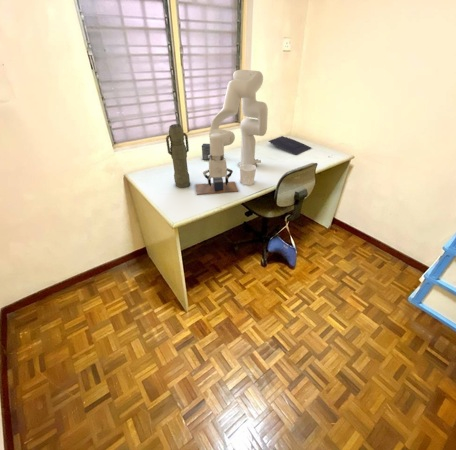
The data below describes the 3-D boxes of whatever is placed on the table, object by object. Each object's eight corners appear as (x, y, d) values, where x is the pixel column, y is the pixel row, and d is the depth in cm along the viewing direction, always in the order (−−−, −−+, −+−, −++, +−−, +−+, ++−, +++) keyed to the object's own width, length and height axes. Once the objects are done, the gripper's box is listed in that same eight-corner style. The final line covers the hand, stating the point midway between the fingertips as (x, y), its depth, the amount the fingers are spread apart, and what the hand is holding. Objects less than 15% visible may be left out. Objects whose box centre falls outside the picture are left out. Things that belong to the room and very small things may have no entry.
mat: (234, 182, 157) (234, 181, 157) (238, 191, 147) (238, 190, 147) (196, 185, 153) (195, 184, 153) (197, 194, 144) (197, 193, 143)
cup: (254, 186, 153) (255, 171, 147) (238, 185, 154) (238, 170, 148) (256, 179, 161) (257, 164, 155) (240, 178, 162) (241, 163, 156)
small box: (217, 157, 191) (217, 143, 185) (216, 160, 185) (215, 146, 179) (204, 156, 191) (203, 143, 185) (202, 159, 186) (201, 145, 180)
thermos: (170, 184, 153) (161, 125, 133) (187, 179, 159) (181, 121, 139) (177, 190, 148) (168, 129, 127) (194, 184, 154) (189, 125, 133)
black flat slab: (282, 138, 226) (283, 134, 223) (311, 150, 211) (312, 146, 209) (265, 144, 212) (266, 140, 209) (295, 158, 197) (296, 154, 195)
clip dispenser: (221, 184, 154) (221, 175, 150) (223, 190, 147) (223, 180, 144) (213, 184, 153) (212, 175, 149) (214, 190, 146) (214, 181, 143)
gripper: (202, 160, 135) (204, 188, 145) (233, 158, 137) (233, 186, 147) (201, 155, 141) (203, 182, 151) (231, 153, 143) (231, 180, 153)
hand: (218, 184), depth 149 cm, fingers open, 9 cm apart
